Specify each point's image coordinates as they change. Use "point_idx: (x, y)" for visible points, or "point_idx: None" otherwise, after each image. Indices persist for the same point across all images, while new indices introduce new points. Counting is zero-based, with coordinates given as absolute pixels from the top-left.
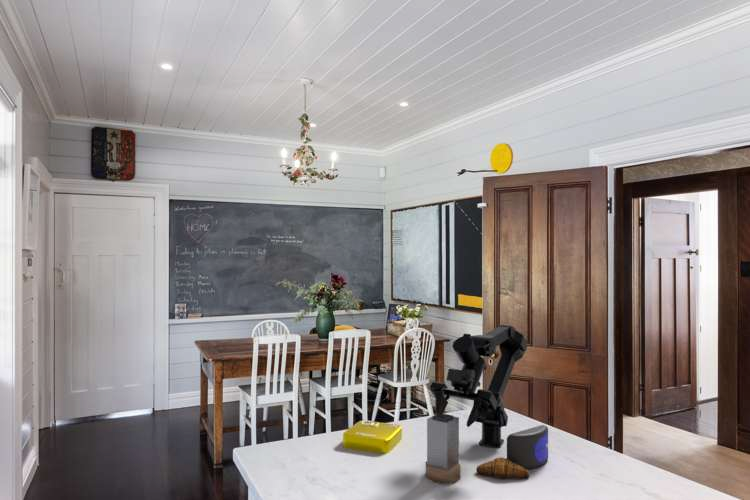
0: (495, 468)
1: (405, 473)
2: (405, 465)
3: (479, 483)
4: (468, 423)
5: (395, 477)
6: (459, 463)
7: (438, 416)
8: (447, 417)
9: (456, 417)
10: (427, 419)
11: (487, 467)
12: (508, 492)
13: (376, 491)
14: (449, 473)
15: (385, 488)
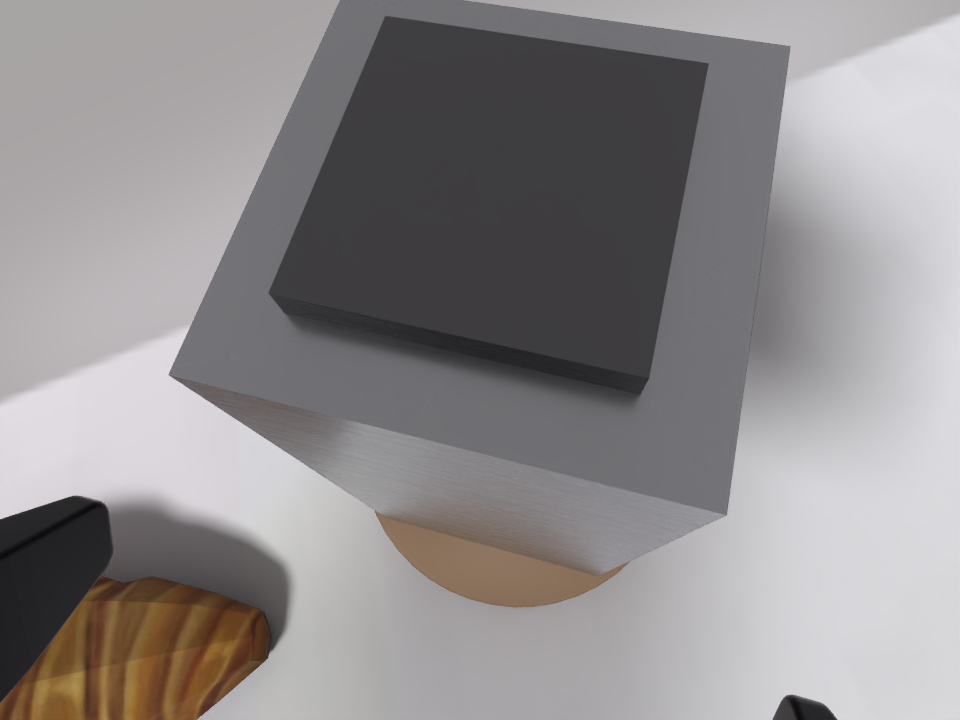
0: None
1: (799, 391)
2: (885, 540)
3: (239, 451)
4: (45, 508)
5: (827, 301)
6: (382, 523)
7: (588, 118)
8: (379, 129)
9: (222, 359)
10: (776, 59)
11: (144, 596)
12: (48, 397)
13: (820, 95)
14: None
15: (794, 144)
